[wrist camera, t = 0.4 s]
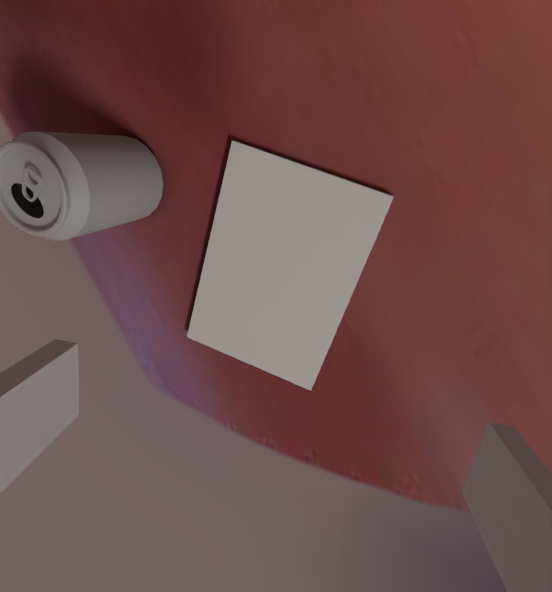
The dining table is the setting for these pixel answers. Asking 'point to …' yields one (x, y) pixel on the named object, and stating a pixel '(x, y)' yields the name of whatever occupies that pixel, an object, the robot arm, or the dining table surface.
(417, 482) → the dining table surface
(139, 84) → the dining table surface
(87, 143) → the can
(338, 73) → the dining table surface
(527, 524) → the robot arm
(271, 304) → the placemat
